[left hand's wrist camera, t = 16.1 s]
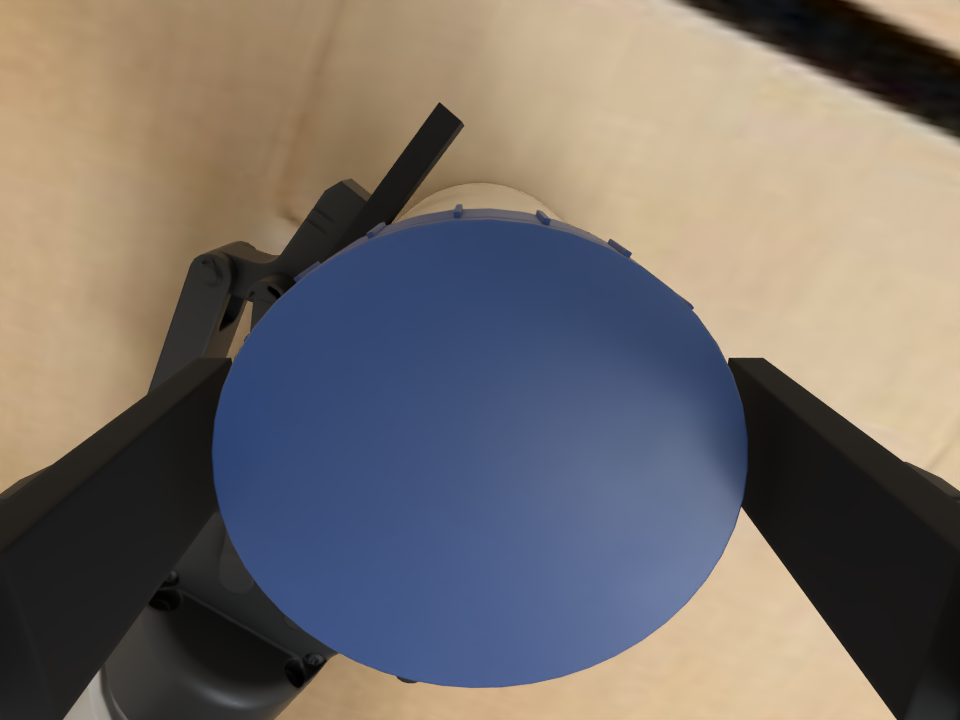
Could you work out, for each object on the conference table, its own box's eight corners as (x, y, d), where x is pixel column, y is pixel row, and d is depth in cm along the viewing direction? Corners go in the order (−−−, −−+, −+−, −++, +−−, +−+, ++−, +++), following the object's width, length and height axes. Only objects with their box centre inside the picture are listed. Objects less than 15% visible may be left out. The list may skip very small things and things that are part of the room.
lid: (215, 566, 13) (174, 630, 11) (294, 131, 10) (255, 127, 8) (609, 660, 14) (627, 732, 12) (795, 291, 11) (855, 318, 9)
